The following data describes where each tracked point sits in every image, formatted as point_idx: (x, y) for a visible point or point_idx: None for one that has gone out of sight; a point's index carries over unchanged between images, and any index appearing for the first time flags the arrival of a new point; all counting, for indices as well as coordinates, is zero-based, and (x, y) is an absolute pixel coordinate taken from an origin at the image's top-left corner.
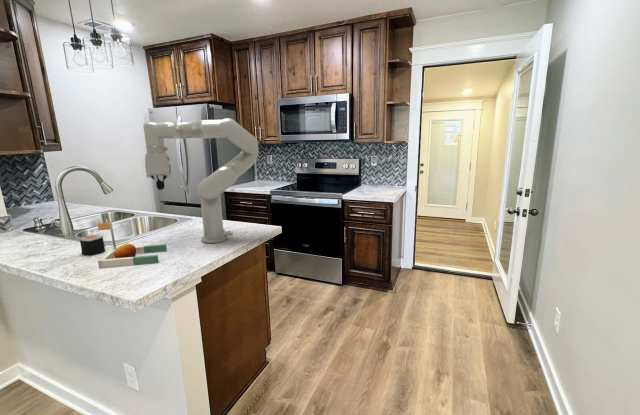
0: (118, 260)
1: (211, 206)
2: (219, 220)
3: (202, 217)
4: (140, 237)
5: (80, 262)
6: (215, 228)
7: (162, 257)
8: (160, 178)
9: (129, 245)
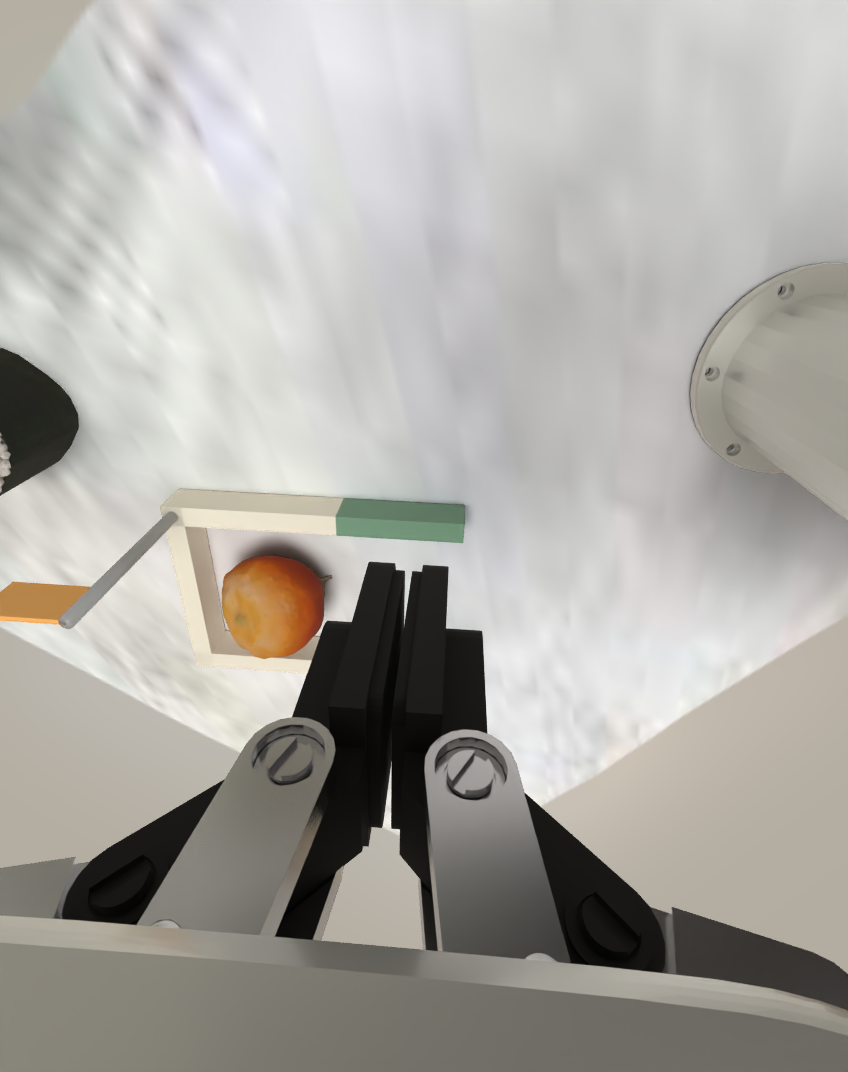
0: (283, 668)
1: None
2: None
3: (824, 467)
4: (147, 78)
5: (66, 550)
6: None
7: (461, 602)
8: (426, 936)
9: (292, 642)
